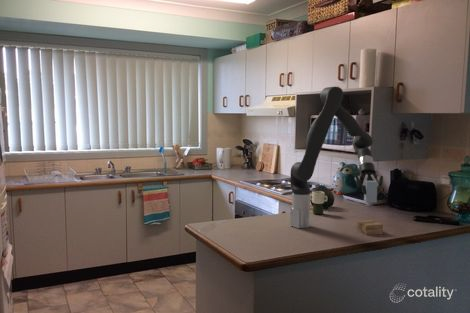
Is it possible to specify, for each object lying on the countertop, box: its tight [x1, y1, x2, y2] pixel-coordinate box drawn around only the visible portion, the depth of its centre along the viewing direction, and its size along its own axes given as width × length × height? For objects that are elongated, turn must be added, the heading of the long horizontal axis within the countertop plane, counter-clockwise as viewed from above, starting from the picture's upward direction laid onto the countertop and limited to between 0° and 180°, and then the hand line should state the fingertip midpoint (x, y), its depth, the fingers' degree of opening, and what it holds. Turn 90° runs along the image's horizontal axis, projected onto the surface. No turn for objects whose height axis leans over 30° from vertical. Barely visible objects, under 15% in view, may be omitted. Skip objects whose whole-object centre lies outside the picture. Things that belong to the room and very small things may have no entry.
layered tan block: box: [356, 219, 384, 236], centre depth 203 cm, size 9×9×5 cm
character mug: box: [310, 191, 327, 215], centre depth 241 cm, size 11×7×13 cm, turn 60°
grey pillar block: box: [363, 180, 378, 204], centre depth 201 cm, size 5×5×10 cm
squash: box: [310, 184, 335, 210], centre depth 259 cm, size 14×15×15 cm
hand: (371, 193), depth 200 cm, fingers closed on grey pillar block, 5 cm apart
